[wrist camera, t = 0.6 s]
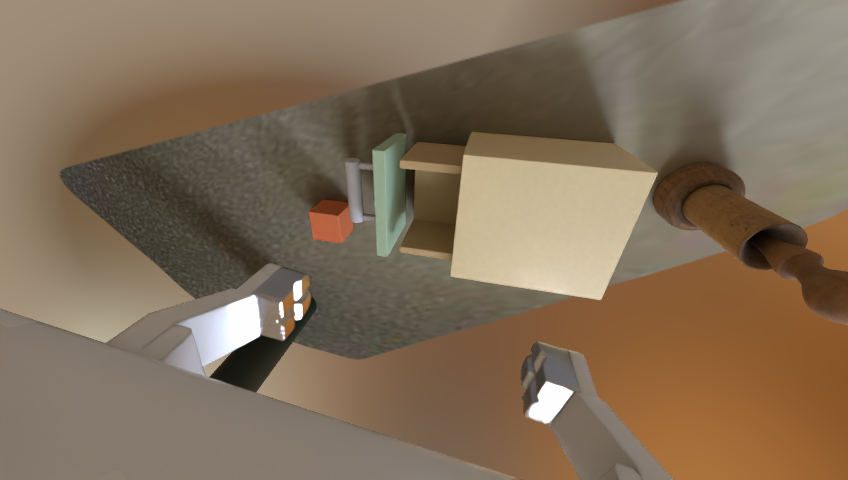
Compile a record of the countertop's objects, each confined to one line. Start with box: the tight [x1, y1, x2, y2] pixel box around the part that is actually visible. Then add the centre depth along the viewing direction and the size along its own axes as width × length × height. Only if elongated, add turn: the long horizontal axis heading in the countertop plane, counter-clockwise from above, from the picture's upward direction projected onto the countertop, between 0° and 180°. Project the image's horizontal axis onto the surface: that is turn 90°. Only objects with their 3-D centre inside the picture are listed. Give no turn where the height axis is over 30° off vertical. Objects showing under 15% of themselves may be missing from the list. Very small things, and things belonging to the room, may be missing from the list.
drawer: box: [345, 133, 466, 260], centre depth 33 cm, size 18×11×8 cm, turn 88°
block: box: [309, 200, 354, 243], centre depth 40 cm, size 4×4×4 cm
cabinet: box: [450, 132, 658, 300], centre depth 31 cm, size 15×13×10 cm
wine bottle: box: [210, 296, 316, 392], centre depth 40 cm, size 6×6×30 cm
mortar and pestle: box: [654, 163, 848, 325], centre depth 24 cm, size 7×6×18 cm
